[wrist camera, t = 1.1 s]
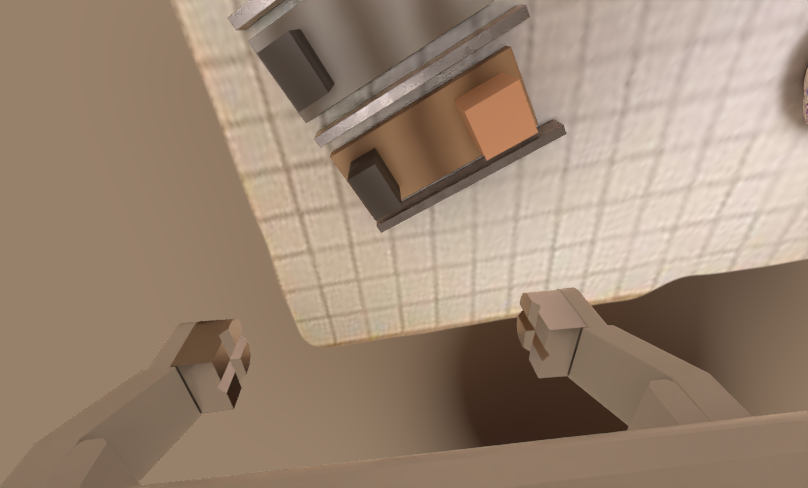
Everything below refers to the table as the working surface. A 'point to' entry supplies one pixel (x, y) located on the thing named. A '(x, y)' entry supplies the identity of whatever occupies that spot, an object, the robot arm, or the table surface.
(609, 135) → the table surface
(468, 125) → the clay block
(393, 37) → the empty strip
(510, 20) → the lane rails
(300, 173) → the table surface
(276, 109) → the table surface
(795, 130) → the table surface
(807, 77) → the paper bowls
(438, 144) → the block strip
